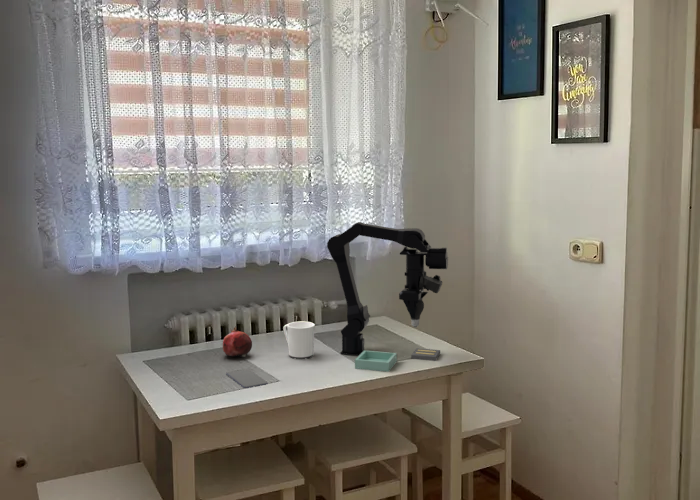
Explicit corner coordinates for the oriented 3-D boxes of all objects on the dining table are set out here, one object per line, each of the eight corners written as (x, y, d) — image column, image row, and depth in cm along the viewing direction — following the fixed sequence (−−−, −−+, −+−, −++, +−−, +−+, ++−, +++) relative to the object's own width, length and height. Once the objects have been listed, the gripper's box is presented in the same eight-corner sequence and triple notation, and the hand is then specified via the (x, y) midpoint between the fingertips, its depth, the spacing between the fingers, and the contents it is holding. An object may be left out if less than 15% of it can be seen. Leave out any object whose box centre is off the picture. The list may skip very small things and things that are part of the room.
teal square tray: (354, 368, 226) (354, 359, 225) (364, 358, 236) (364, 350, 235) (388, 371, 223) (388, 362, 222) (396, 361, 233) (396, 353, 232)
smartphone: (244, 387, 208) (225, 371, 220) (244, 390, 208) (225, 375, 221) (268, 382, 211) (248, 368, 224) (268, 385, 212) (248, 371, 224)
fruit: (254, 359, 236) (253, 328, 234) (224, 361, 233) (223, 330, 232) (249, 351, 244) (249, 321, 243) (221, 353, 242) (220, 323, 240)
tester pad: (411, 358, 236) (411, 354, 236) (416, 351, 244) (416, 347, 243) (435, 360, 234) (435, 356, 234) (440, 353, 241) (440, 349, 241)
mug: (319, 353, 242) (319, 323, 240) (306, 360, 234) (306, 329, 232) (290, 349, 246) (290, 319, 245) (277, 356, 238) (276, 325, 237)
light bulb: (423, 329, 233) (422, 298, 232) (405, 329, 234) (405, 298, 233) (425, 325, 238) (424, 295, 237) (407, 324, 240) (407, 294, 238)
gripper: (434, 274, 222) (434, 324, 225) (445, 264, 240) (445, 311, 242) (398, 273, 226) (398, 322, 228) (412, 263, 243) (412, 309, 246)
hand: (415, 316), depth 236 cm, fingers closed on light bulb, 5 cm apart
